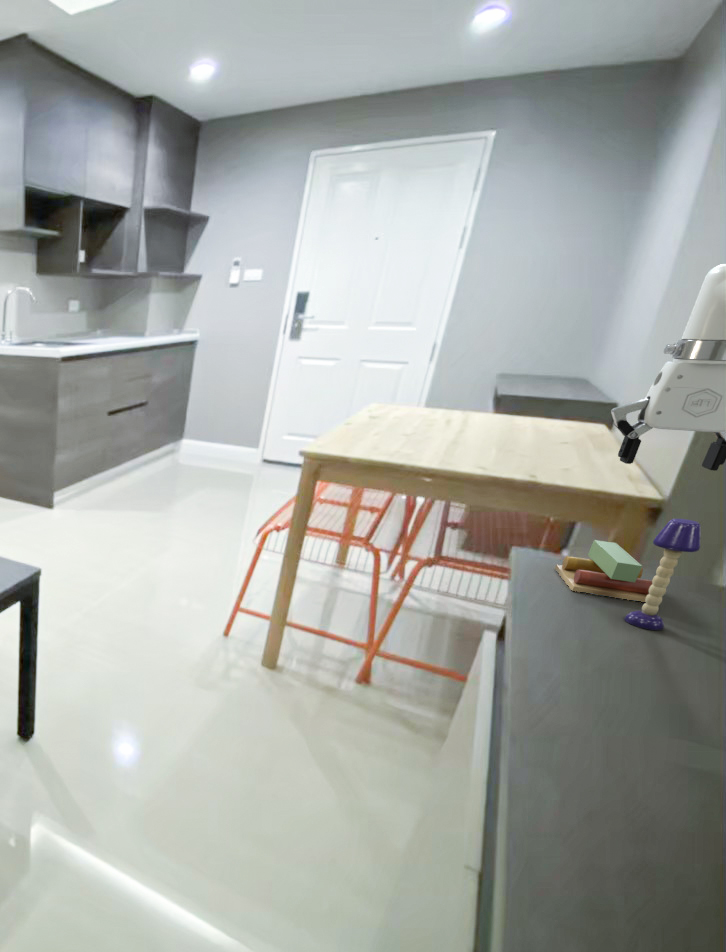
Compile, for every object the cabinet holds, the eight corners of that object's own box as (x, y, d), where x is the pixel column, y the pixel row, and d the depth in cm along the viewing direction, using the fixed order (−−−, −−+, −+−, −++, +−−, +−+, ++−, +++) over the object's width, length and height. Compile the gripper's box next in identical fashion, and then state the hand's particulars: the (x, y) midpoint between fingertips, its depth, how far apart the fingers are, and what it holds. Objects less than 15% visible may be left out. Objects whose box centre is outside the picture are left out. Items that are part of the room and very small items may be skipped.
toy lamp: (617, 621, 94) (663, 520, 88) (620, 612, 97) (664, 514, 91) (661, 633, 91) (712, 529, 84) (663, 623, 94) (712, 521, 87)
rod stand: (633, 581, 108) (641, 563, 107) (659, 605, 99) (668, 586, 98) (554, 569, 113) (560, 552, 112) (571, 591, 104) (579, 573, 103)
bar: (587, 555, 111) (593, 539, 109) (609, 558, 109) (616, 542, 108) (610, 578, 101) (618, 562, 100) (635, 582, 99) (642, 566, 98)
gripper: (643, 352, 91) (602, 464, 98) (814, 355, 84) (757, 476, 90) (625, 350, 97) (587, 455, 104) (782, 353, 90) (731, 466, 96)
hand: (666, 465), depth 97 cm, fingers open, 9 cm apart
